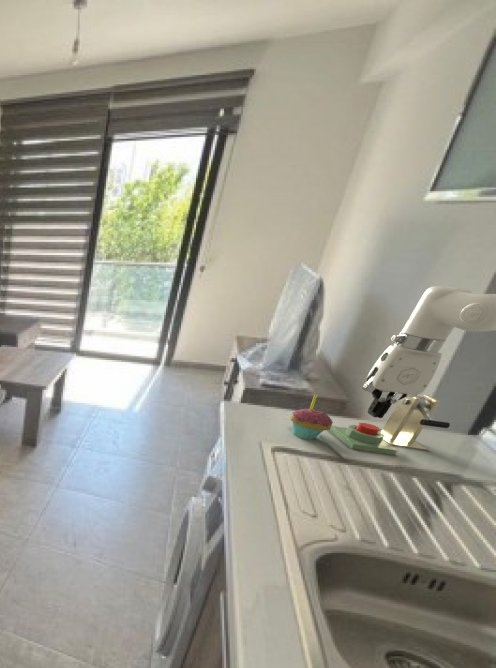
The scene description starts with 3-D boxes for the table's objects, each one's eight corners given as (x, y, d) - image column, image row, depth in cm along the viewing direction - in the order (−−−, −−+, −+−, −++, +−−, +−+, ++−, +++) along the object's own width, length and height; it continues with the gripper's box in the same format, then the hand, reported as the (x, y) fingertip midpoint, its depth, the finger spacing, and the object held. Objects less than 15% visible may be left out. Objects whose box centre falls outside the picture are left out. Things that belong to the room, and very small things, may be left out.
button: (379, 437, 119) (383, 430, 118) (360, 434, 119) (364, 428, 119) (370, 430, 122) (373, 424, 121) (352, 427, 123) (355, 421, 122)
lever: (444, 431, 114) (452, 423, 113) (420, 427, 115) (427, 420, 114) (423, 405, 121) (431, 397, 120) (400, 402, 122) (407, 394, 121)
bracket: (424, 453, 120) (456, 406, 114) (387, 448, 122) (416, 401, 116) (399, 436, 129) (428, 392, 122) (365, 431, 130) (391, 387, 124)
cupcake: (294, 440, 123) (316, 397, 117) (276, 426, 130) (297, 385, 124) (330, 445, 122) (355, 401, 116) (311, 430, 129) (333, 388, 123)
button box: (391, 458, 117) (401, 443, 115) (349, 451, 119) (357, 437, 117) (366, 438, 126) (374, 425, 124) (327, 432, 128) (334, 419, 126)
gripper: (390, 343, 108) (347, 416, 117) (470, 352, 105) (419, 427, 114) (371, 334, 114) (332, 404, 123) (445, 343, 111) (400, 414, 120)
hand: (374, 415), depth 119 cm, fingers closed
